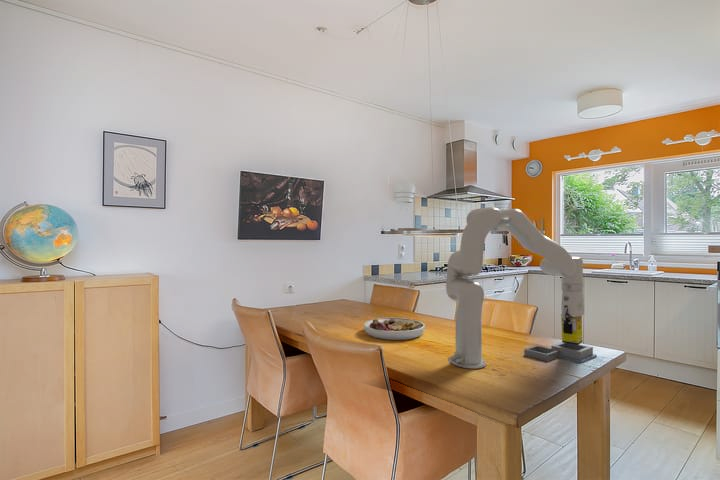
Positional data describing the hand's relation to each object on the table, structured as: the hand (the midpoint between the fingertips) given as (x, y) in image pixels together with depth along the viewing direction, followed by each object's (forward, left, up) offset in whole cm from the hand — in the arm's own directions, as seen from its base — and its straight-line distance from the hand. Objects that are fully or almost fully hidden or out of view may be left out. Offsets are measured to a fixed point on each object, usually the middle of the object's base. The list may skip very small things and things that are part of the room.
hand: (572, 331), depth 153 cm
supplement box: (0, 0, -5) cm, 5 cm away
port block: (0, 0, -10) cm, 10 cm away
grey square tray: (-10, +7, -10) cm, 16 cm away
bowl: (-33, +70, -10) cm, 78 cm away
